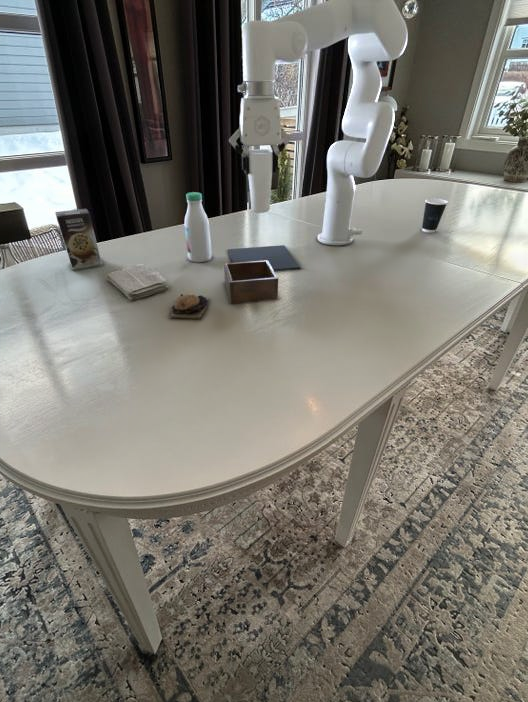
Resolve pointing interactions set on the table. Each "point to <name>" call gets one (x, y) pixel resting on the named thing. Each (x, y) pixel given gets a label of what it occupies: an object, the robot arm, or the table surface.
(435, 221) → the dixie cup
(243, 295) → the box
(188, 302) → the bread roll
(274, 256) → the mat
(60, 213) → the cookie box
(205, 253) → the milk bottle
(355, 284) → the table surface
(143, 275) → the washcloth
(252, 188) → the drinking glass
